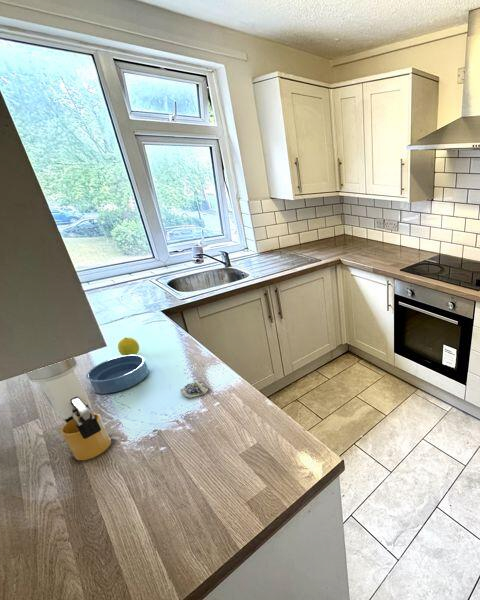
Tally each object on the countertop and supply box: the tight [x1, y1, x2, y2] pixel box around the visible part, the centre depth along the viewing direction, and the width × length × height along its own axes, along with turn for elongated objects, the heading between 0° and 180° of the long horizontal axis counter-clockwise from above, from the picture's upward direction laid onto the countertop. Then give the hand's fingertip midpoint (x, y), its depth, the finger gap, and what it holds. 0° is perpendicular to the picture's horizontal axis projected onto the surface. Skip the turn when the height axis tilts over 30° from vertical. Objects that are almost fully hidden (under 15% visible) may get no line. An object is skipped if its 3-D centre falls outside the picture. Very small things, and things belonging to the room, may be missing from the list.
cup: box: [59, 412, 112, 461], centre depth 78 cm, size 7×7×8 cm
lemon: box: [117, 336, 140, 356], centre depth 114 cm, size 6×6×8 cm
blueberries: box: [179, 381, 209, 399], centre depth 99 cm, size 7×8×2 cm
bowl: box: [86, 354, 150, 395], centre depth 103 cm, size 14×14×5 cm
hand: (83, 426), depth 77 cm, fingers open, 9 cm apart
